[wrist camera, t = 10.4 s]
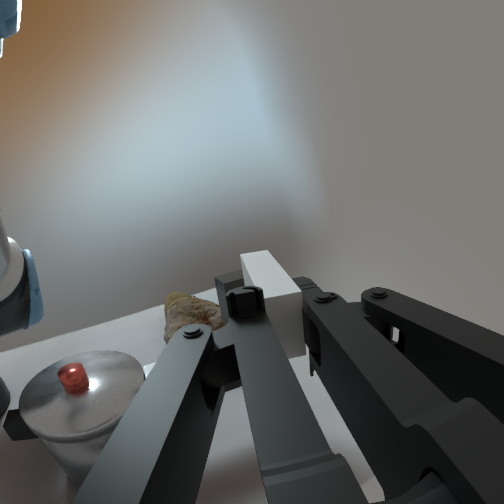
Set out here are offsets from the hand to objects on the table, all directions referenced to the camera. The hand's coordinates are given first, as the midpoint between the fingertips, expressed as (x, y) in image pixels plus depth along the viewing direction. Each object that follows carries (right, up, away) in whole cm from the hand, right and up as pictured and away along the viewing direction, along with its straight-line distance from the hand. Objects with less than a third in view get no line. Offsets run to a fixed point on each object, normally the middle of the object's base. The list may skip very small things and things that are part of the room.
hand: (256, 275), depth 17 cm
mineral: (-12, -14, +38) cm, 42 cm away
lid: (-11, -11, +9) cm, 18 cm away
